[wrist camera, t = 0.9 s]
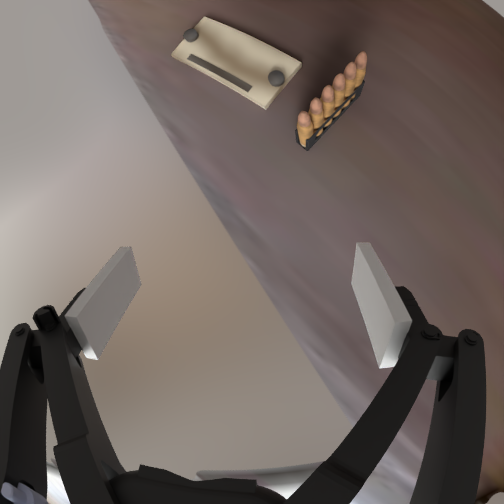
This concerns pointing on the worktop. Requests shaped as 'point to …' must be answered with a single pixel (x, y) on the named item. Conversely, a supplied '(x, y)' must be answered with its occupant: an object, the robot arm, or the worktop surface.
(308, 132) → the ammunition clip
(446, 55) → the worktop surface
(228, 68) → the plate
